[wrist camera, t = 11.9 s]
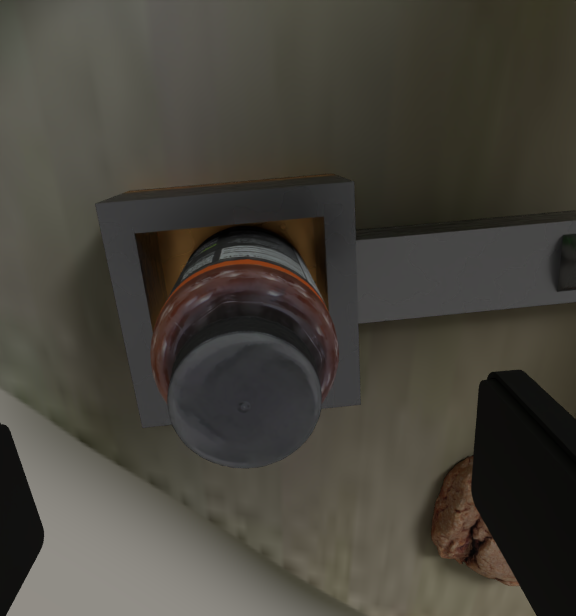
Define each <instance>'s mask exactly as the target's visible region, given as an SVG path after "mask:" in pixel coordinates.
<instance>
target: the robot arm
mask: <svg viewBox="0 0 576 616" xmlns="http://www.w3.org/2000/svg"><path fill="white" fill-rule="evenodd" d="M471 493H472V498H473V502H474V505H475V507H476V509H477V510H478V512H479V514H480V516H481V518H482V519H483V521H484V523H485V525H486V526H487V528H488V530H489V532H490V534H491V535H492V537H493V539H494V541H495V542H496V544H497V546H498V548H499V550H500V551H501V553H502V555H503V557H504V558H505V560H506V562H507V564H508V566H509V567H510V569H511V571H512V573H513V574H514V576H515V578H516V580H517V582H518V583H519V585H520V587H521V589H522V590H523V592H524V594H525V596H526V597H527V599H528V601H529V603H530V605H531V606H532V608H533V610H534V612H535V613H536V615H537V616H576V419H575V418H574V417H573V416H572V415H570V414H569V413H568V412H567V411H566V410H565V409H564V408H563V407H562V406H561V405H560V404H559V403H558V402H556V401H555V400H554V399H553V398H552V397H551V396H550V395H549V394H548V393H547V392H546V391H545V390H543V389H542V388H541V387H540V386H539V385H538V384H537V383H536V382H535V381H534V380H533V379H532V378H531V377H529V376H528V375H527V374H526V373H525V372H524V371H522V370H510V371H499V372H491V373H490V374H489V375H488V377H487V380H482V381H481V382H480V385H479V393H478V405H477V418H476V430H475V443H474V456H473V468H472V481H471ZM43 541H44V530H43V526H42V523H41V520H40V517H39V514H38V511H37V508H36V505H35V502H34V499H33V497H32V494H31V491H30V488H29V485H28V482H27V479H26V476H25V473H24V470H23V467H22V464H21V461H20V458H19V456H18V453H17V450H16V447H15V444H14V441H13V438H12V435H11V432H10V430H9V428H8V427H7V426H6V425H3V424H2V425H1V423H0V616H6V614H7V612H8V611H9V609H10V607H11V605H12V603H13V601H14V599H15V597H16V595H17V593H18V592H19V590H20V588H21V586H22V584H23V582H24V580H25V578H26V577H27V575H28V573H29V571H30V569H31V567H32V565H33V563H34V562H35V560H36V558H37V556H38V554H39V552H40V550H41V548H42V545H43Z"/></svg>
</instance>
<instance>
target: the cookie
mask: <svg viewBox="0 0 576 616" xmlns="http://www.w3.org/2000/svg"><path fill="white" fill-rule="evenodd" d="M473 456H474V455H472V456H471V457H467V458H466V459H465V460H463V461H461V462H459V463H458V464H456V465H455V466H454V468H453V469H451V470H450V471H449V473H448V474H447V476H446V477H445V478H444V482H443V485H442V487H441V491H440V494H439V496H438V498H437V499H436V503H435V507H434V514H433V519H432V530H431V536H432V541H433V543H434V544H435V545H436V546H437V549H438V553H439V555H440V556H441V557H442V558H448V559H455V560H456V561H457V562H459V564H462V562H465V563H466V565H467V566H468V567H470V568H471V569H472V570H474V571H475V572H477V573H479V574H481V575H483V576H485V577H487V578H491V579H496V580H497V581H500V582H502V583H503V584H506V585H509V586H520V585H519V583H518V582H517V580H516V578H515V576H514V574H513V573H512V571H511V569H510V567H509V566H508V564H507V562H506V560H505V558H504V557H503V555H502V553H501V551H500V550H499V548H498V546H497V544H496V542H495V541H494V539H493V537H492V535H491V534H490V532H489V530H488V528H487V526H486V525H485V523H484V521H483V519H482V518H481V516H480V514H479V512H478V510H477V509H476V507H475V505H474V502H473V498H472V493H471V481H472V468H473Z"/></svg>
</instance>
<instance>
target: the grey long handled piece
mask: <svg viewBox="0 0 576 616" xmlns="http://www.w3.org/2000/svg"><path fill="white" fill-rule="evenodd" d="M95 206H96V210H97V215H98V220H99V225H100V229H101V234H102V239H103V243H104V248H105V253H106V258H107V262H108V267H109V272H110V277H111V281H112V286H113V291H114V296H115V300H116V305H117V310H118V315H119V319H120V324H121V329H122V334H123V338H124V343H125V348H126V352H127V357H128V362H129V367H130V371H131V376H132V381H133V386H134V390H135V395H136V400H137V405H138V409H139V414H140V419H141V424H142V428H145V427H155V426H164V425H172V423H171V420H170V416H169V412H168V406H167V403H166V402H165V400H164V399H163V397H162V395H161V394H160V392H159V390H158V387H157V385H156V382H155V379H154V376H153V372H152V366H151V355H150V352H151V341H152V336H153V331H154V327H155V324H156V321H157V318H158V316H159V314H160V312H161V310H162V308H163V306H164V304H165V302H166V300H167V298H168V296H169V295H170V293H171V291H172V289H173V287H174V285H175V283H176V281H177V280H178V278H179V276H180V274H181V272H182V270H183V269H184V267H185V265H186V263H187V261H188V260H189V258H190V256H191V255H192V253H193V252H194V251H195V250H196V249H197V248H198V247H199V245H200V244H202V243H203V242H204V241H205V240H206V239H207V238H209V237H210V236H212V235H213V234H215V233H217V232H219V231H222V230H225V229H227V228H230V227H236V226H256V227H261V228H264V229H268V230H270V231H272V232H275V233H277V234H279V235H280V236H282V237H283V238H284V239H286V240H287V241H288V242H289V243H290V244H291V245H292V246H293V247H294V248H295V249H296V251H297V252H298V253H299V255H300V256H301V258H302V259H303V261H304V263H305V264H306V266H307V268H308V270H309V272H310V274H311V277H312V278H313V280H314V281H316V283H315V285H316V286H317V288H318V290H319V293H320V295H321V296H322V298H323V300H324V302H325V305H326V307H327V310H328V312H329V314H330V316H331V319H332V321H333V324H334V327H335V331H336V336H337V341H338V345H339V362H338V368H337V372H336V377H335V379H334V383H333V385H332V387H331V389H330V391H329V393H328V395H327V396H326V398H325V400H324V401H323V403H322V406H321V409H323V408H333V407H342V406H351V405H361V399H360V365H359V331H358V324H359V323H369V322H379V321H389V320H399V319H409V318H419V317H429V316H439V315H450V314H460V313H470V312H480V311H490V310H500V309H510V308H520V307H530V306H540V305H550V304H560V303H570V302H576V210H574V211H563V212H552V213H541V214H530V215H519V216H508V217H497V218H486V219H475V220H464V221H453V222H442V223H431V224H420V225H409V226H398V227H387V228H376V229H365V230H356V229H355V195H354V181H351V180H349V179H346V178H343V177H340V176H338V175H335V174H323V175H311V176H299V177H288V178H276V179H264V180H253V181H241V182H229V183H217V184H206V185H194V186H182V187H171V188H159V189H147V190H135V191H128V192H125V193H122V194H120V195H117V196H114V197H112V198H109V199H107V200H104V201H101V202H99V203H96V204H95Z"/></svg>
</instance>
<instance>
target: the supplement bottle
mask: <svg viewBox="0 0 576 616" xmlns="http://www.w3.org/2000/svg"><path fill="white" fill-rule="evenodd" d="M315 283H316V281H314V280H313V278H312V277H311V274H310V272H309V270H308V268H307V266H306V264H305V263H304V261H303V259H302V258H301V256H300V255H299V253H298V252H297V251H296V249H295V248H294V247H293V246H292V245H291V244H290V243H289V242H288V241H287V240H286V239H284V238H283V237H282V236H280V235H279V234H277V233H275V232H272V231H270V230H268V229H264V228H261V227H256V226H236V227H230V228H227V229H225V230H222V231H219V232H217V233H215V234H213V235H212V236H210V237H209V238H207V239H206V240H205V241H204V242H203V243H202V244H200V245H199V247H198V248H197V249H196V250H195V251H194V252H193V253H192V255H191V256H190V258H189V260H188V261H187V263H186V265H185V267H184V269H183V270H182V272H181V274H180V276H179V278H178V280H177V281H176V283H175V285H174V287H173V289H172V291H171V293H170V295H169V296H168V298H167V300H166V302H165V304H164V306H163V308H162V310H161V312H160V314H159V316H158V318H157V321H156V324H155V327H154V331H153V336H152V341H151V352H150V355H151V366H152V372H153V376H154V379H155V382H156V385H157V387H158V390H159V392H160V394H161V395H162V397H163V399H164V400H165V402H166V403H167V406H168V412H169V416H170V420H171V423H172V426H173V428H174V429H175V431H176V433H177V434H178V436H179V437H180V439H181V440H182V441H183V442H184V443H185V445H186V446H187V447H188V448H190V449H191V450H192V451H193V452H195V453H196V454H198V455H199V456H200V457H202V458H204V459H206V460H208V461H211V462H213V463H216V464H219V465H222V466H228V467H231V468H254V467H263V466H266V465H269V464H272V463H275V462H277V461H279V460H282V459H284V458H285V457H287V456H288V455H290V454H292V453H293V452H294V451H296V450H297V449H298V448H299V447H300V446H301V445H302V444H303V443H304V442H305V441H306V440H307V439H308V437H309V436H310V435H311V433H312V431H313V430H314V428H315V426H316V423H317V421H318V419H319V416H320V411H321V406H322V403H323V401H324V400H325V398H326V396H327V395H328V393H329V391H330V389H331V387H332V385H333V383H334V379H335V377H336V372H337V368H338V362H339V345H338V341H337V336H336V331H335V327H334V324H333V321H332V319H331V316H330V314H329V312H328V310H327V307H326V305H325V302H324V300H323V298H322V296H321V295H320V293H319V290H318V288H317V286H316V285H315Z"/></svg>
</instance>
